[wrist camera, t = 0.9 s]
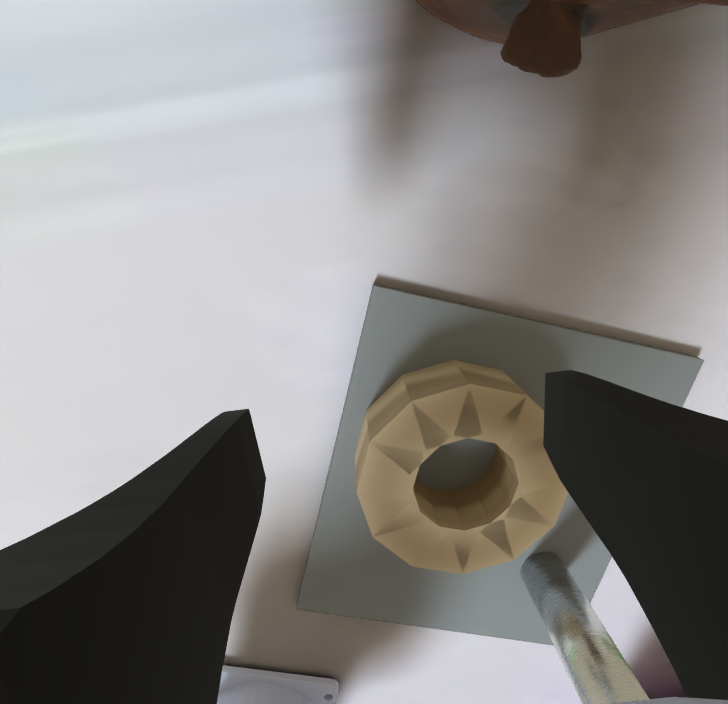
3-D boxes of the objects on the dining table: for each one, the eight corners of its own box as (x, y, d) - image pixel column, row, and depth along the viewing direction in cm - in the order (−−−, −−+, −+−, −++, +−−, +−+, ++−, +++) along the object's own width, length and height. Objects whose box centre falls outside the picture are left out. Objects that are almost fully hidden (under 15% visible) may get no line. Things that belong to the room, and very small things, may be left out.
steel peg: (555, 590, 25) (647, 755, 18) (514, 584, 25) (590, 748, 17) (570, 555, 25) (673, 711, 17) (528, 548, 24) (614, 703, 17)
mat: (565, 639, 27) (569, 647, 27) (297, 601, 25) (296, 609, 25) (696, 356, 22) (704, 360, 22) (373, 284, 20) (373, 286, 20)
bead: (507, 540, 24) (529, 584, 21) (340, 512, 23) (340, 555, 20) (567, 384, 22) (602, 410, 19) (382, 344, 21) (389, 367, 18)
